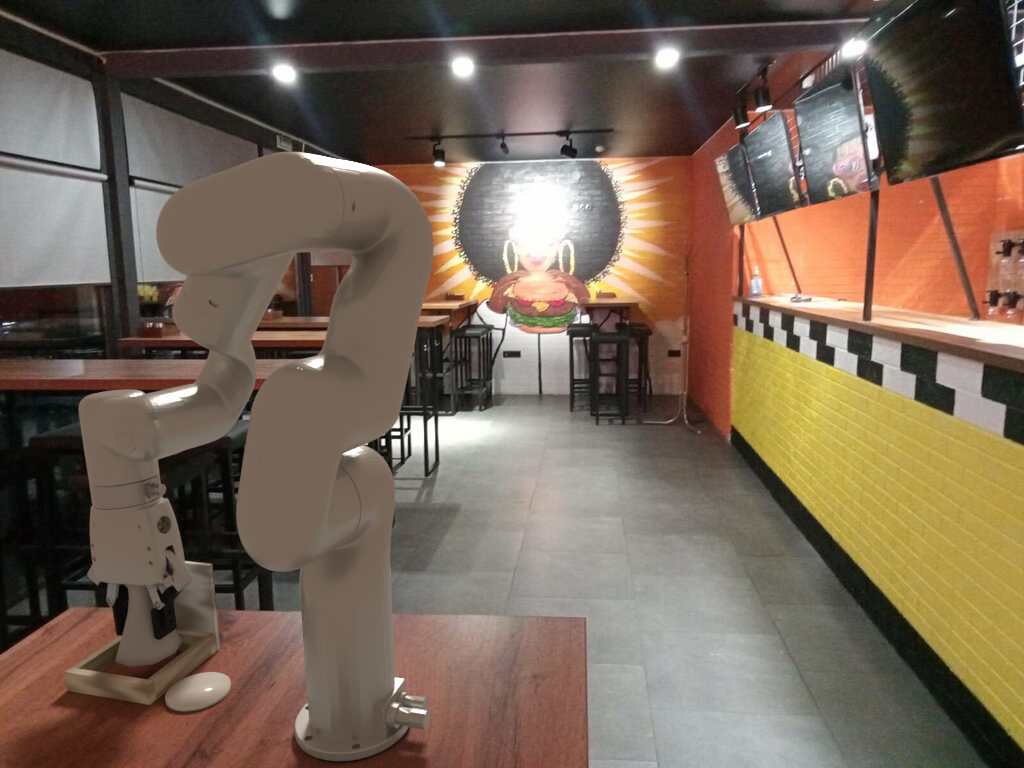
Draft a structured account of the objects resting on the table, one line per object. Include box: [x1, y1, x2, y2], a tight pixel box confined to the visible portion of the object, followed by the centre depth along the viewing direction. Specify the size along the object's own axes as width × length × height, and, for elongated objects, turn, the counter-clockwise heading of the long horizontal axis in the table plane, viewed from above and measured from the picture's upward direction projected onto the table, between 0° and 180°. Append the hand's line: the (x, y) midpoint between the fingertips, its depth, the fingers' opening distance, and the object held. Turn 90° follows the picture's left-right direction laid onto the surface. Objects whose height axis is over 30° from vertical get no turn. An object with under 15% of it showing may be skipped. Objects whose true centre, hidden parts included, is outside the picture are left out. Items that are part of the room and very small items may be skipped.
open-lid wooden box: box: [64, 560, 221, 706], centre depth 90 cm, size 12×13×12 cm
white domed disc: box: [164, 671, 232, 713], centre depth 86 cm, size 7×7×1 cm
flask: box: [115, 585, 183, 668], centre depth 89 cm, size 7×7×10 cm
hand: (146, 630), depth 90 cm, fingers closed on flask, 5 cm apart
